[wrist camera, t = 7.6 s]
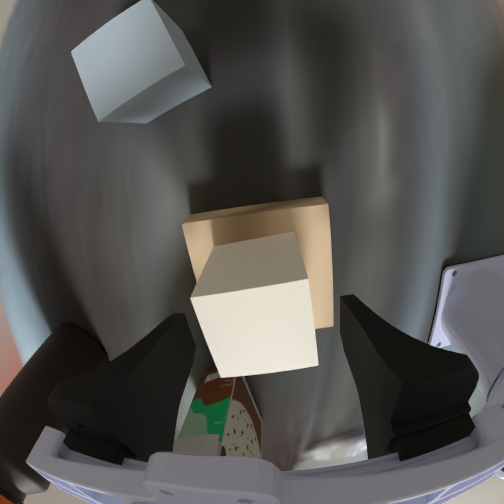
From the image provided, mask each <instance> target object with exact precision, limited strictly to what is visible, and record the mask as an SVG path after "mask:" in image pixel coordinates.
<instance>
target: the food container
mask: <svg viewBox="0 0 504 504" xmlns="http://www.w3.org/2000/svg"><path fill="white" fill-rule="evenodd" d="M262 441H263V421H262V418H261V416H260V414H259V411H258V409H257V406H256V404H255V402H254V399H253V397H252V394H251V392H250V389H249V387H248V384H247V382H246V379H245V377H244V376H237V377H225V378H221V377H220V374H219V372H218V369H217V367H215V368H212V369H210V370H209V371H208V372H207V373H206V374H205V375H204V376H203V377H201V380H200V383H199V385H198V388H197V390H196V393H195V395H194V398H193V400H192V403H191V406H190V408H189V411H188V413H187V416H186V418H185V421H184V424H183V426H182V429H181V431H180V434H179V436H178V439H177V440H175V441H174V443H173V452H175V453H184V454H195V455H208V456H231V457H250V458H259V459H262Z"/></svg>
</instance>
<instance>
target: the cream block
mask: <svg viewBox="0 0 504 504" xmlns="http://www.w3.org/2000/svg"><path fill="white" fill-rule="evenodd" d="M190 299H191V301H192V304H193V307H194V310H195V312H196V315H197V318H198V321H199V323H200V326H201V329H202V331H203V334H204V337H205V339H206V342H207V344H208V347H209V349H210V352H211V354H212V357H213V359H214V362H215V364H216V367H217V369H218V372H219V374H220V377H221V378H225V377H237V376H247V375H257V374H265V373H273V372H281V371H288V370H294V369H301V368H307V367H312V366H318V357H317V347H316V337H315V328H314V319H313V310H312V302H311V294H310V286H309V279H308V275H307V272H306V269H305V265H304V262H303V259H302V255H301V252H300V249H299V245H298V242H297V239H296V236H295V232H290V233H284V234H278V235H273V236H267V237H261V238H256V239H251V240H245V241H240V242H234V243H229V244H224V245H218V246H213V249H212V251H211V253H210V255H209V257H208V259H207V262H206V264H205V266H204V268H203V270H202V273H201V275H200V277H199V279H198V282H197V284H196V286H195V288H194V291H193V293H192V295H191V297H190Z"/></svg>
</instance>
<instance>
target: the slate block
mask: <svg viewBox="0 0 504 504" xmlns="http://www.w3.org/2000/svg"><path fill="white" fill-rule="evenodd" d="M71 53H72V56H73V58H74V61H75V64H76V67H77V70H78V72H79V75H80V78H81V80H82V83H83V85H84V88H85V91H86V93H87V96H88V98H89V101H90V103H91V105H92V108H93V110H94V113H95V115H96V117H97V120H98V122H127V123H148V122H150V121H152V120H153V119H155V118H156V117H158V116H160V115H161V114H163V113H165V112H167V111H168V110H170V109H172V108H173V107H175V106H177V105H179V104H181V103H182V102H184V101H186V100H188V99H190V98H192V97H194V96H195V95H197V94H199V93H201V92H203V91H205V90H207V89H209V88H211V87H212V86H211V84H210V82H209V80H208V78H207V76H206V74H205V73H204V71H203V69H202V67H201V65H200V63H199V61H198V59H197V57H196V55H195V53H194V51H193V50H192V48H191V46H190V44H189V42H188V40H187V38H186V37H185V35H184V33H183V31H182V30H181V29H180V28H179V27H178V26H177V25H176V23H175V22H174V21H173V20H172V19H171V18H170V17H169V16H168V15H167V14H166V13H165V12H164V11H163V10H162V9H161V8H160V7H159V6H158V5H157V4H156V3H155V2H154V1H153V0H141V1H139V2H138V3H136V4H135V5H133V6H131V7H130V8H128V9H127V10H125V11H124V12H122V13H121V14H119V15H118V16H116V17H115V18H113V19H112V20H111V21H109V22H108V23H106V24H105V25H104V26H102V27H101V28H100V29H98V30H97V31H96V32H94V33H93V34H92V35H91V36H89V37H88V38H87V39H86V40H84V41H83V42H82V43H81V44H80V45H78V46H77V47H76V48H75V49H74V50H73V51H71Z"/></svg>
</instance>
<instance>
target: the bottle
mask: <svg viewBox="0 0 504 504" xmlns="http://www.w3.org/2000/svg"><path fill="white" fill-rule="evenodd" d="M106 363H108V358H107V356H106V354H105V353H104V351H103V349H102V348H101V346H100V345H99V344H98V343H97V342H96V340H94V339H93V338H92V337H91V336H90V335H89V334H87V333H86V332H84V331H83V330H81V329H79V328H77V327H74V326H71V325H62V326H60V327H58V328H56V329H55V330H54V331H53V332H52V334H51V335H50V336H49V337H48V338H47V339H46V340H45V342H44V343H43V344H42V345H41V346H40V347H39V349H38V350H37V351H36V352H35V353H34V355H33V356H32V357H31V358H30V359H29V361H28V362H27V363H26V364H25V366H24V367H23V368H22V369H21V371H20V372H19V373H18V374H17V376H16V377H15V378H14V379H13V381H12V382H11V383H10V385H9V386H8V387H7V389H6V390H5V391H4V393H3V394H2V395H1V397H0V504H24V503H23V501H24V499H25V497H26V495H27V494H34V493H40V492H45V491H46V490H47V489H48V487H49V485H50V483H51V482H50V481H48V480H47V479H46V478H44V477H43V476H42V475H40V474H39V473H38V472H37V471H35V470H34V469H33V468H32V467H31V466H29V465H28V464H27V463H26V460H27V458H28V456H29V454H30V453H31V451H32V449H33V447H34V445H35V444H36V442H37V440H38V438H39V437H40V435H41V433H42V431H43V430H44V428H45V426H48V427H51V428H54V429H56V430H59V431H61V432H63V433H64V434H66V435H67V433H68V431H69V430H68V429H67V428H66V427H65V425H64V424H63V423H62V422H61V421H60V420H59V419H58V418H57V416H56V415H55V414H54V413H53V412H52V410H51V409H50V407H49V405H48V398H49V396H50V395H51V393H52V392H53V390H54V389H55V387H56V386H57V384H58V383H59V382H60V381H64V380H67V379H70V378H74V377H77V376H80V375H82V374H85V373H88V372H90V371H92V370H94V369H97V368H99V367H101V366H102V365H104V364H106Z"/></svg>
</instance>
